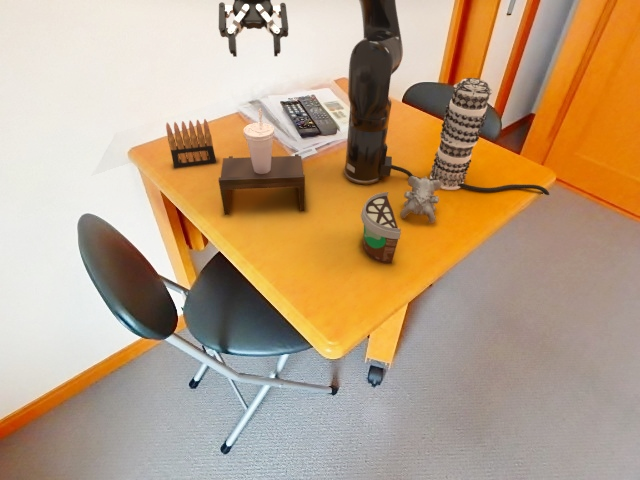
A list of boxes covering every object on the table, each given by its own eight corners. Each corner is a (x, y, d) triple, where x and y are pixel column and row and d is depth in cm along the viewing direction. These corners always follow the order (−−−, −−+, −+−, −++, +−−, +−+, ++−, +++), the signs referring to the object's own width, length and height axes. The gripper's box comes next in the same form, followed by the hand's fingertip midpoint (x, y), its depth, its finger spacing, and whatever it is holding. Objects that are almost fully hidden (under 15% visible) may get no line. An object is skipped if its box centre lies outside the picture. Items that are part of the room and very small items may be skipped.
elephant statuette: (401, 225, 88) (407, 197, 82) (392, 193, 96) (397, 166, 91) (442, 225, 88) (451, 197, 83) (430, 193, 97) (437, 166, 92)
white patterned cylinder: (421, 180, 101) (444, 81, 84) (439, 166, 106) (465, 70, 89) (453, 195, 97) (484, 94, 80) (471, 180, 102) (504, 82, 85)
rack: (298, 162, 106) (298, 129, 99) (304, 211, 90) (304, 176, 84) (230, 164, 104) (225, 131, 98) (224, 215, 89) (218, 180, 82)
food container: (353, 228, 86) (357, 191, 80) (380, 227, 87) (387, 190, 80) (362, 270, 77) (367, 231, 71) (393, 268, 78) (401, 230, 71)
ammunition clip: (215, 159, 106) (208, 117, 98) (216, 163, 104) (209, 120, 96) (174, 164, 103) (163, 121, 95) (174, 168, 102) (162, 124, 94)
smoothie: (271, 179, 86) (267, 118, 76) (243, 175, 86) (236, 114, 77) (280, 163, 90) (277, 104, 81) (253, 160, 91) (247, 100, 82)
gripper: (213, -35, 79) (217, 45, 78) (285, -34, 80) (289, 45, 80) (219, -10, 86) (223, 63, 86) (285, -9, 88) (289, 63, 87)
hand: (255, 54), depth 83 cm, fingers open, 8 cm apart
